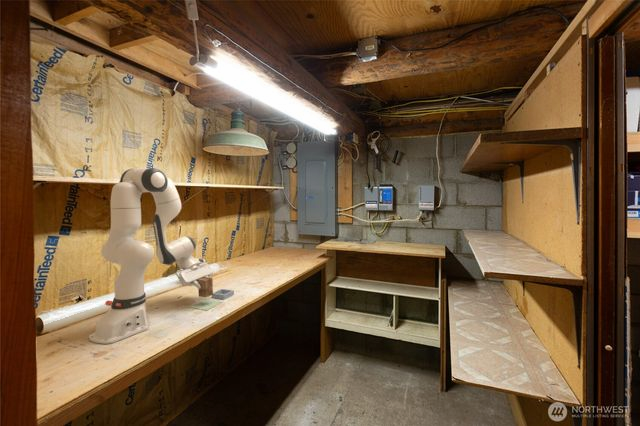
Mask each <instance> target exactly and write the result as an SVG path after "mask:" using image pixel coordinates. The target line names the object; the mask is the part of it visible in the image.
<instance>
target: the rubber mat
mask: <svg viewBox="0 0 640 426" xmlns="http://www.w3.org/2000/svg"><path fill="white" fill-rule="evenodd" d="M222 303H223V301H220V300H216V299H215V300H214V299H207V298H204V299H202V300H200V301H197V302H195V303H193V304H191V305H189V306H188V309H189V308H190V309H193V310H194V309H195V310H201V311H206V312H207V311H210V310H211V309H213V308H214V307H217V306H218V305H221V304H222Z"/></svg>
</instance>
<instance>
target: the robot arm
mask: <svg viewBox="0 0 640 426" xmlns="http://www.w3.org/2000/svg"><path fill="white" fill-rule="evenodd" d="M144 193H150V194H151V195H152V196H153V200H154V203H155V207H156V208H155V214H154V215H153V217H152V225H153V232H154V239H155V246H156V256H157V259H158V261H159V263H161V264H163V265H166V266H170V265H172V264H174V263H176V264H177V266H178V268H179V269H177V270H176V271H175V275H176V277H177V278H178V279H177V280H178V281H179V282H180V284H181V285H182V287H187V286H190V284H192V285H193V286H192V287H196V288H197V289H200V288H202V286H201V284H198V283H196V282H197V281H198V279H201V278H203V277H209V278H211V276H212V275H213V274H214V270H213V268H212V267H211V266H210V265H209V264H208V263H207V262H206V260H205V258H195V257H194V255H192V254H193V253H194V251H195V249H196V246H197V244H196V242H195V241H194V240H193V239H192V238H191V237H190V236H188V235H184V236H182V237H178V238H177V239H174V240H172V241H170V242H168V240H167V232H166V230H167V229H166V228H167V227H168V225H169V224H170V222H172V221H173V220H174V219H175V218H176V217H177V216H178V215H179V214H180V212H181V210H182V202H181V197H180V194H179V192H178V190H177V187H176V186H175V183H174V181H173V180H172V179H171V178H170V177H167V176H166V175H165V173H164V172H163V171H162V170H160V169H158V168H156V167H155V168H154V167H150V168H149V167H136V168H134V167H133V168H129V169H126V170H125V171H124V172H122V173H121V176H120V180H119V182H118V183H115V184H114V185H113V186H112V188H111V195H110V230H109V233H108V236H107V237H108V238H107V239H106V241H105V243H103V245H102V246H101V248H100V249H101V250H100V253H101V256H102V258H103V259H105V260H107V261H109V262H111V263H112V264H118V265H120V269H119V273H118V275H117V276H116V277H115V278H114V281H113V285H114V290H113V291H114V297H113V300H106V301H105V303H104V305H106V306H108V307H110V308H109V309H108V310H107V312H106V313H104V314H103V316H102V317H101V318H100V319H98V321H96V325H95V331H94V332H93V333H91V334H89V335H88V340H89V341H90V342H93V343H96V344H103V345H105V344H108V345H109V344H114V343H116V342H119V341H121V340H124V339H126V338H130V337H131V336H134V335H137V334H140V333H142V332H146V331H147V330H149V326H150V323H151V322H150V318H149V316H148V313H147V307H146V301H147V300H146V299H147V297H146V292H145V273H146V270H147V267H148V265H149V264H150V263H151V262H152V261H153V259H154V257H155V249H154V247H153V245H151V243H148V242H145V241H143V240H137V239H136V240H135V236H136V233H137V231H138V229H140V228H141V226H142V206H141V204H142V203H141V197H142V195H143V194H144Z"/></svg>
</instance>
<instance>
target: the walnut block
mask: <svg viewBox="0 0 640 426" xmlns="http://www.w3.org/2000/svg"><path fill="white" fill-rule="evenodd" d="M213 283H214V282H213V277H203V278H201V279H198V284H201V286H202V288H200V289H198V288H197V289H198V297H199V298H200V297H201V298H204V299H207V298H208V297H210V296H211V297H212V295H213V293H214V287H213Z"/></svg>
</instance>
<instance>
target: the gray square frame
mask: <svg viewBox="0 0 640 426" xmlns="http://www.w3.org/2000/svg"><path fill="white" fill-rule="evenodd" d="M234 295H235V290H234V289H233V290H232V289H225V288H220V289H218V290H216V291H213V295H211V298H212V299H215V300H216V299H218V300H224V301H225V300H226V299H229V298H230V297H233V296H234Z"/></svg>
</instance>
